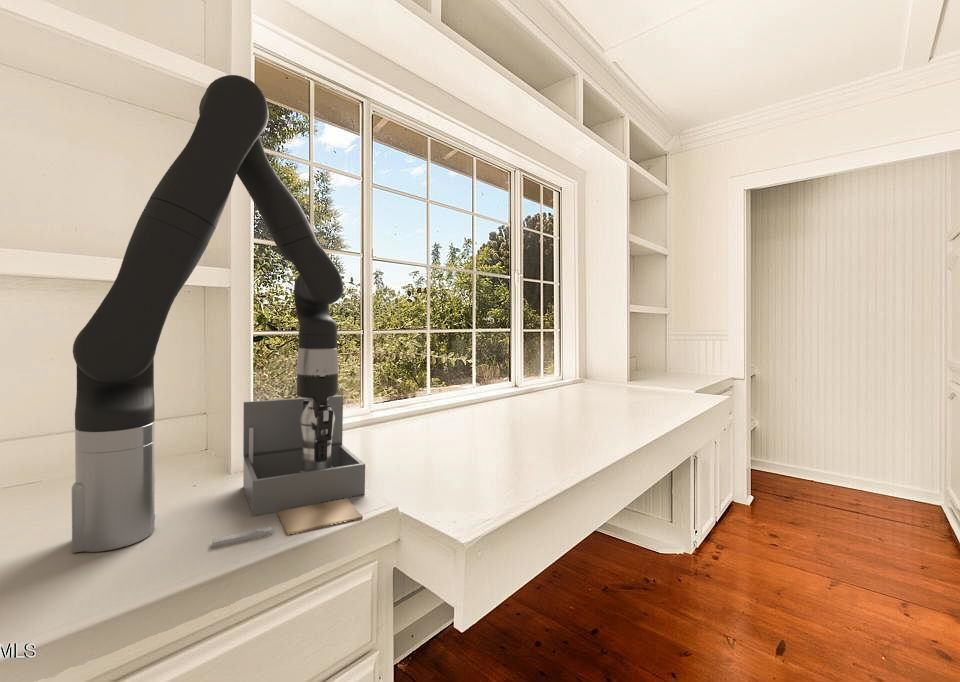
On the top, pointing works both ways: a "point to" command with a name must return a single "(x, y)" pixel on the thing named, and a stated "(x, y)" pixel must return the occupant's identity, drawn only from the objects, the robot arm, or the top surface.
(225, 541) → the rod
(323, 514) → the cork pad
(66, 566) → the top surface
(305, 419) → the plastic bottle
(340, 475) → the case
